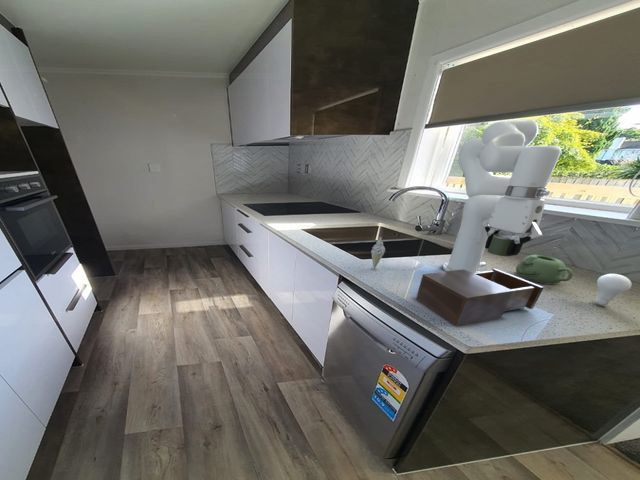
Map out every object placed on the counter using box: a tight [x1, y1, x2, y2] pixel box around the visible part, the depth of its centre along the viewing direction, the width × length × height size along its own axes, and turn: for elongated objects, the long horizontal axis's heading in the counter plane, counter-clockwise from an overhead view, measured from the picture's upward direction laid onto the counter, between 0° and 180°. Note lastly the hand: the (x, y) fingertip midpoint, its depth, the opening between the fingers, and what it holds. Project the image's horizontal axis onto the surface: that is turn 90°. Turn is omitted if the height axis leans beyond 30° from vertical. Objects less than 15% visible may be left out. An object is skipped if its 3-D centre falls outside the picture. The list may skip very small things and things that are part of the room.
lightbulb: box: [594, 273, 632, 306], centre depth 77 cm, size 6×6×11 cm
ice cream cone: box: [370, 236, 386, 271], centre depth 102 cm, size 5×5×15 cm
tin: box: [487, 233, 515, 257], centre depth 75 cm, size 6×6×6 cm
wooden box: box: [415, 269, 513, 327], centre depth 76 cm, size 17×15×10 cm
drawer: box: [474, 268, 545, 312], centre depth 79 cm, size 20×13×8 cm
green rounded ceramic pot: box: [515, 254, 574, 285], centre depth 93 cm, size 16×13×9 cm
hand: (500, 250), depth 76 cm, fingers closed on tin, 5 cm apart
